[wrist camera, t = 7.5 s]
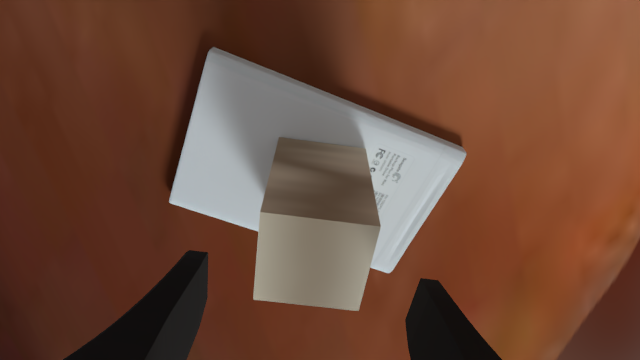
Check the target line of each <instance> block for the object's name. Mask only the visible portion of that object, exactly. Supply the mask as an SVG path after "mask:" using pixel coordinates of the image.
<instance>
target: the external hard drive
mask: <svg viewBox="0 0 640 360" xmlns="http://www.w3.org/2000/svg"><path fill="white" fill-rule="evenodd" d="M279 137H283V138H291V139H298V140H306V141H313V142H321V143H328V144H336V145H343V146H351V147H358V148H366V153H367V158H368V163H369V168H370V173H371V178H372V184H373V189H374V194H375V199H376V204H377V209H378V215H379V220H380V225H381V228H380V232H379V236H378V239H377V243H376V247H375V251H374V254H373V258H372V262H371V266H370V267H371V268H373V269H376V270H380V271H383V272H386V273H390V272H391V271H392V270H393V269H394V267H395V266H396V264H397V263H398V261H399V260H400V258H401V257H402V255H403V253H404V252H405V250H406V248H407V247H408V245H409V244H410V242H411V241H412V239H413V238H414V236H415V235H416V233H417V232H418V230H419V229H420V227H421V226H422V224H423V223H424V221H425V220H426V218H427V216H428V215H429V214H430V212H431V210H432V209H433V207H434V206H435V204H436V203H437V201H438V200H439V198H440V197H441V195H442V194H443V192H444V191H445V189H446V188H447V186H448V185H449V183H450V182H451V180H452V179H453V177H454V176H455V174H456V172H457V171H458V170H459V168H460V166H461V165H462V163H463V161H464V159H465V156H466V152H465V150H464V149H463V147H461V146H459V145H456V144H454V143H451V142H449V141H446V140H444V139H441V138H439V137H436V136H434V135H431V134H429V133H427V132H424V131H422V130H419V129H417V128H414V127H412V126H409V125H407V124H404V123H402V122H399V121H397V120H395V119H392V118H390V117H387V116H385V115H382V114H380V113H377V112H375V111H372V110H370V109H367V108H365V107H362V106H360V105H357V104H355V103H352V102H350V101H347V100H345V99H342V98H340V97H337V96H335V95H332V94H330V93H328V92H325V91H323V90H320V89H318V88H315V87H313V86H310V85H308V84H305V83H303V82H300V81H298V80H295V79H293V78H290V77H288V76H285V75H283V74H280V73H278V72H275V71H273V70H270V69H268V68H265V67H263V66H260V65H258V64H255V63H253V62H250V61H248V60H245V59H243V58H240V57H238V56H235V55H233V54H230V53H228V52H225V51H223V50H220V49H218V48H215V47H212V48H211V49H210V50H209V52H208V54H207V57H206V61H205V64H204V68H203V72H202V76H201V80H200V83H199V87H198V91H197V95H196V99H195V103H194V107H193V110H192V114H191V118H190V122H189V126H188V130H187V133H186V137H185V141H184V145H183V148H182V152H181V156H180V160H179V164H178V168H177V171H176V176H175V179H174V183H173V187H172V190H171V196H170V199H169V202H170V203H171V204H174V205H178V206H180V207H184V208H187V209H190V210H193V211H196V212H199V213H202V214H205V215H208V216H212V217H215V218H218V219H221V220H224V221H227V222H230V223H233V224H236V225H240V226H243V227H246V228H249V229H252V230H255V231H258V232H259V219H260V210H261V206H262V202H263V198H264V194H265V190H266V186H267V182H268V178H269V174H270V171H271V167H272V163H273V159H274V155H275V151H276V147H277V143H278V139H279Z"/></svg>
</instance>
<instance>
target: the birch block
mask: <svg viewBox="0 0 640 360" xmlns="http://www.w3.org/2000/svg"><path fill="white" fill-rule="evenodd" d="M380 228H381V225H380V220H379V215H378V209H377V204H376V199H375V194H374V189H373V184H372V178H371V173H370V168H369V163H368V158H367V153H366V148H358V147H351V146H343V145H336V144H328V143H321V142H313V141H306V140H298V139H291V138H283V137H279V139H278V143H277V147H276V151H275V155H274V159H273V163H272V167H271V171H270V174H269V178H268V182H267V186H266V190H265V194H264V198H263V202H262V206H261V210H260V219H259V232H258V245H257V257H256V270H255V283H254V296H253V299H254V300H263V301H272V302H281V303H290V304H299V305H308V306H317V307H327V308H336V309H345V310H354V311H359V307H360V303H361V300H362V296H363V292H364V288H365V285H366V281H367V277H368V273H369V269H370V266H371V262H372V258H373V254H374V251H375V247H376V243H377V239H378V236H379V232H380Z"/></svg>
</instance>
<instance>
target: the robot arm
mask: <svg viewBox="0 0 640 360" xmlns="http://www.w3.org/2000/svg"><path fill="white" fill-rule="evenodd" d="M207 284H208V253H207V252H199V251H191V250H189V251H188V252H186V253H185V254H184V256H183V257H182V258H181V259H180V260H179V261H178V262H177V264H176V265H175V266H174V267H173V268H172V269H171V270H170V271H169V272H168V273H167V274H166V275H165V276H164V277H163V279H162V280H161V281H160V282H159V283H158V284H157V285H155V286H154V287H153V288H152V289H151V290H150V291H149V292H148V293H147V294H146V295H145V296H144V297H143V298H142V299H141V300H140V301H139V302H138V303H137V304H135V305H134V306H133V307H132V308H131V309H130V310H129V311H128V312H126V313H125V314H124V315H123V316H122V317H121V318H119V319H118V320H117V321H116V322H115V323H113V324H112V325H111V326H110V327H108V328H107V329H106V330H104V331H103V332H102V333H100V334H99V335H98V336H96V337H95V338H94V339H92V340H91V341H89V342H88V343H87V344H85V345H84V346H82V347H81V348H80V349H78V350H77V351H75V352H74V353H72V354H71V355H69V356H68V357H66V358H65V359H63V360H186V359H187V357H188V354H189V352H190V349H191V347H192V344H193V341H194V339H195V336H196V334H197V331H198V329H199V326H200V322H201V319H202V315H203V312H204V308H205V304H206V300H207ZM406 331H407V340H408V348H409V353H410V358H411V360H502V359H501V358H500V357H499V356H498V355H497V354H496V352H495V351H494V350H493V349H492V348H491V347H490V346H489V345H488V343H487V342H486V341H485V340H484V339H483V338H482V336H481V335H480V334H479V333H478V332H477V330H476V329H475V328H474V327H473V325H472V324H471V323H470V322H469V320H468V319H467V318H466V317H465V315H464V314H463V313H462V311H461V310H460V309H459V307H458V306H457V305H456V303H455V302H454V301H453V300H452V298H451V297H450V295H449V294H448V293H447V291H446V290H445V289H444V287H443V286H442V285H441V284H440V282H439V281H438V280H430V279H422V278H421V279H420V282H419V284H418V287H417V290H416V292H415V295H414V298H413V301H412V303H411V306H410V309H409V312H408V314H407V317H406Z"/></svg>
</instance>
